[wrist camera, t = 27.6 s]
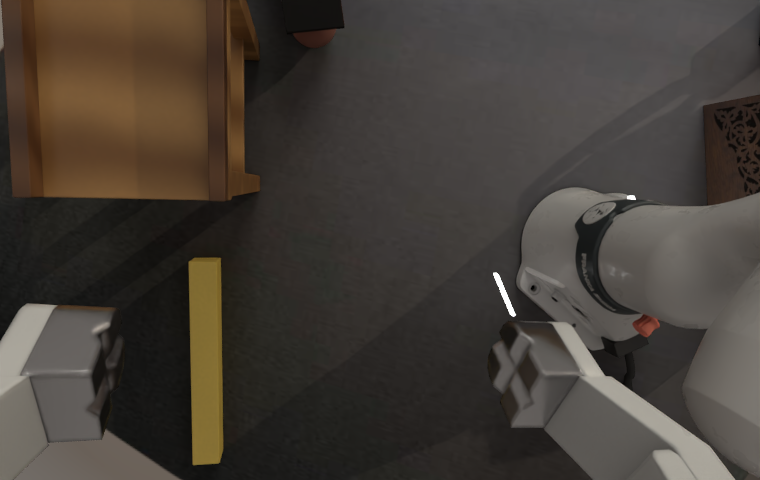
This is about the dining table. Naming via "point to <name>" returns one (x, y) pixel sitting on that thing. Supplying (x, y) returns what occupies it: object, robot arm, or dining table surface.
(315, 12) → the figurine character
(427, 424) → the dining table surface
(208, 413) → the yellow bar
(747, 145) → the tissue box cover
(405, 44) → the dining table surface
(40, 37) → the wooden side table
